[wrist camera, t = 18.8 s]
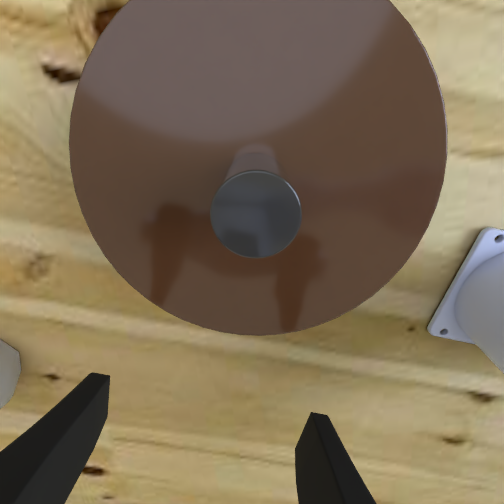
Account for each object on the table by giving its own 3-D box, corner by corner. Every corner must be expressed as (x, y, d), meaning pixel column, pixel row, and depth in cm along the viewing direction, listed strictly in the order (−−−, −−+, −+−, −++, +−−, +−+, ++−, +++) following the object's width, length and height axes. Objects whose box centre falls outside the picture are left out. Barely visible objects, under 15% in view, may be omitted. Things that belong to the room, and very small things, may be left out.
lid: (503, 27, 10) (679, -33, 6) (356, 344, 16) (394, 432, 11) (87, -95, 9) (-59, -272, 5) (81, 289, 15) (8, 363, 10)
